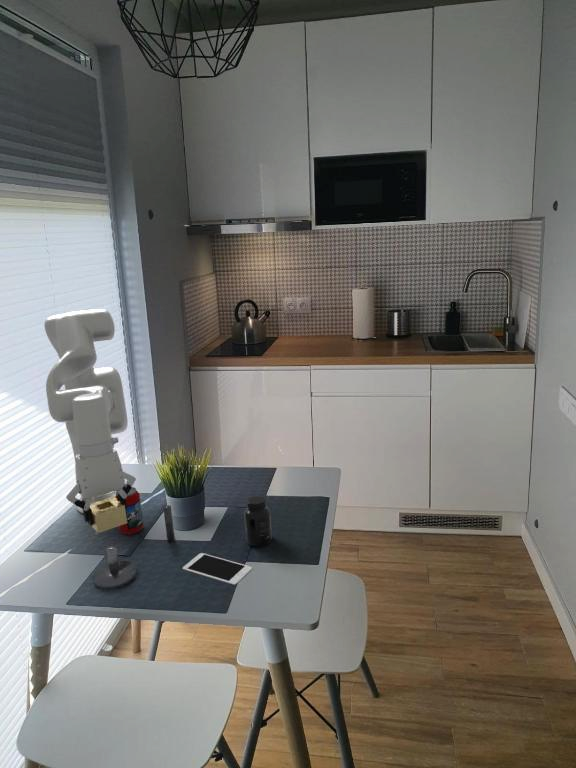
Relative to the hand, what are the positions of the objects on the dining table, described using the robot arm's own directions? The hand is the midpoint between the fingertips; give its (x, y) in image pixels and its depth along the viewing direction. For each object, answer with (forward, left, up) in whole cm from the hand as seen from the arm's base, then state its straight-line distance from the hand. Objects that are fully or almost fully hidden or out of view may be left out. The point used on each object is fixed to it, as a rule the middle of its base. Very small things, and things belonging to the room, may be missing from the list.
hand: (106, 517), depth 140 cm
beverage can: (-20, +12, -16) cm, 29 cm away
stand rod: (-7, +18, -16) cm, 25 cm away
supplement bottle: (+9, +36, -16) cm, 41 cm away
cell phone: (+13, +21, -17) cm, 30 cm away
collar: (0, 0, -1) cm, 1 cm away
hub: (0, 0, -16) cm, 16 cm away
